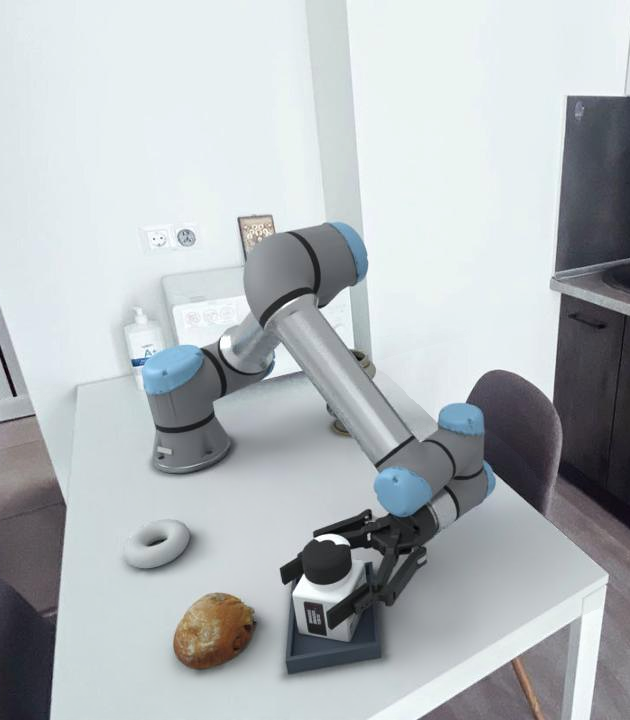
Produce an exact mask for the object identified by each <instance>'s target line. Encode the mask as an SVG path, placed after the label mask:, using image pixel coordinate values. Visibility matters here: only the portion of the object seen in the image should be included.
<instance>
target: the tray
mask: <svg viewBox="0 0 630 720" xmlns="http://www.w3.org/2000/svg"><path fill="white" fill-rule="evenodd" d="M364 563H365V573H366V583H367V584H368V585H369V589H370V588H371V581H372V583H373V581H374V578H375V575H374V566H373V561H367V562H366V561H365V562H364ZM303 574H304V573H303ZM303 574H302V575H300V576H299V577H297V578H295V579H294V580H292V581H291V591H290V602H289V615H288V626H287V635H286V636H287V637H286V649H285V660H284V661H285V666H286V673H287V675H293V674H297V673H303V672H308V671H313V670H319V669H326V668H331V667H335V666H341V665H347V664H352V663H353V664H354V663H358V662H363V661H370V660H374V659H381V658H382V651H381V649H382V648H381V638H380V629H379V628H380V627H379V619H378V618H379V617H378V608H377V602H375V603H373V604H372V605H371V606H369V607H368V608H367V609H366V610H364V611H363V612H362V615H361V617H360V620H359V622H358V624H357V627H356V629H355V632H354V634H353V636H352V639H351V641H350V642H344V641H339V640H333V639H328V638H322V637H316V636H311V635H305V634H300V633H299V631H298V625H297V619H296V613H295V607H294V601H293V595H292V594H293V591H294V590H295V588H296V586H297V585H298V583H299V581H300V579H301V578H302V576H303Z"/></svg>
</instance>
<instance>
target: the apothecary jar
mask: <svg viewBox="0 0 630 720" xmlns="http://www.w3.org/2000/svg"><path fill="white" fill-rule="evenodd" d="M348 349H349V350H350V351H351V353H352V354H353V355H354V356H355V358H356V359H357V360H358V362H359V363H360V364H361V366H362V367H363V368H364V370H365V371H366V372H367V374H368V375H369V376H370V378H371V379H372V380H373V379H374V378H375V376H376V374H377V367H376V365H375V364H374V363H373V361H372V360H370V359H369V356H368V354H367V352H365V351H364V350H362V349H359V348H348ZM325 405H326V411H327V413H328V414H329V416H331V417H333V418H334V419H336V420H335V421H334V422H333V424H332V428H333V430H334V431H335V432H336V433H338V434H340V435H343V436H351V434H350V433H349V432H348V430H347V429H346V428H345V426H344V425H343V424H342V422H341V421H340V420H339V418H338V417H337V416H336V414H335V413H334V412H333V410H332V409H331V408H330V406H329V405H328V404H327V403H326V404H325Z"/></svg>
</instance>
